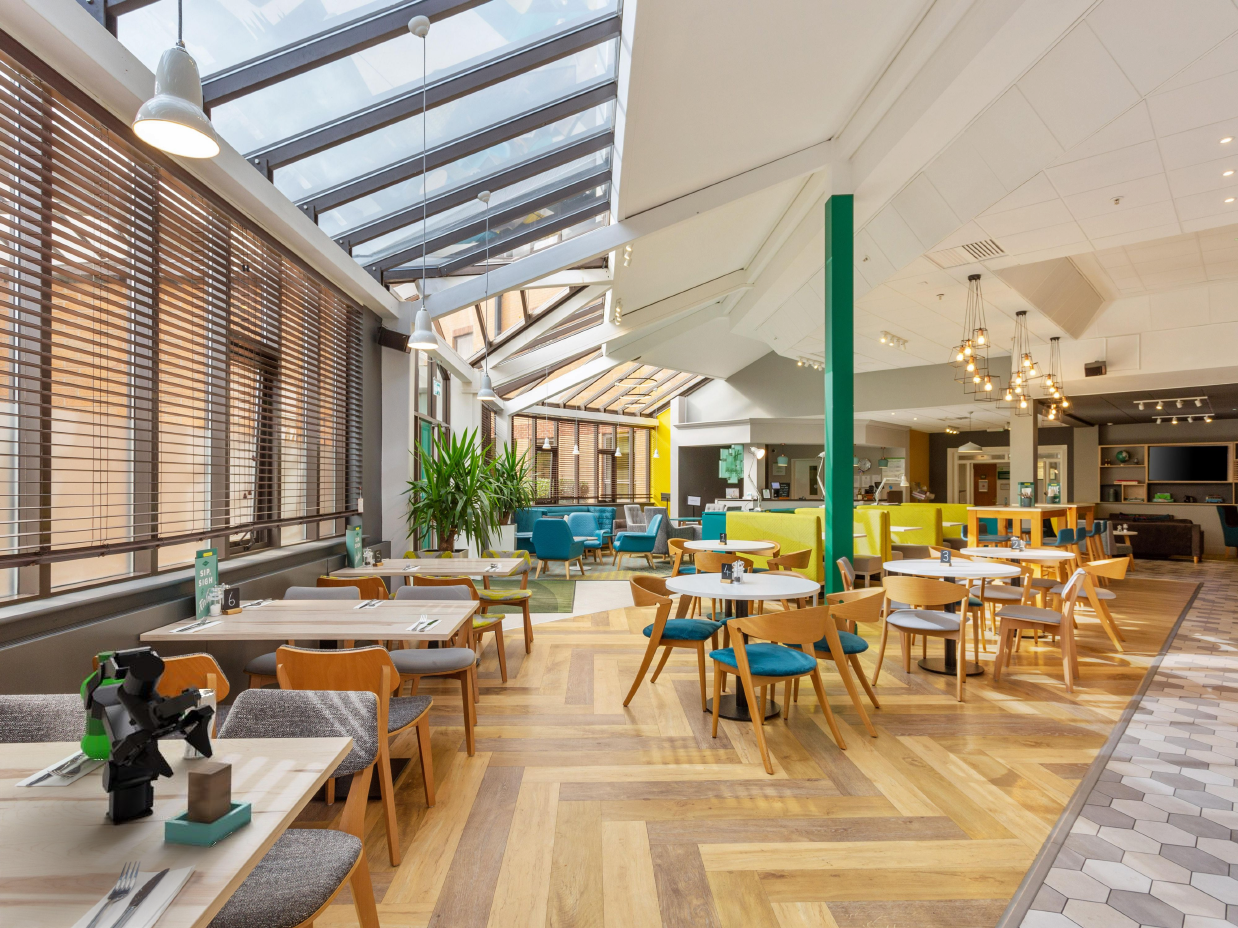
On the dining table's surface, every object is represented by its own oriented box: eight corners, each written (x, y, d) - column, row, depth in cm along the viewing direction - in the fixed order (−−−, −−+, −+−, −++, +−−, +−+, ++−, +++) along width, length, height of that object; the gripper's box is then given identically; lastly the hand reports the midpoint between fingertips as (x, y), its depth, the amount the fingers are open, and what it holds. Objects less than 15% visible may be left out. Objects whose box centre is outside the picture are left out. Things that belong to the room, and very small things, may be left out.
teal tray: (164, 840, 125) (164, 821, 125) (207, 815, 135) (208, 797, 135) (210, 846, 123) (210, 827, 123) (251, 820, 133) (251, 802, 133)
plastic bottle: (123, 745, 172) (126, 646, 173) (137, 755, 165) (139, 652, 166) (74, 757, 164) (77, 653, 165) (86, 768, 158) (89, 660, 159)
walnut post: (187, 831, 127) (188, 771, 128) (208, 818, 132) (209, 761, 132) (209, 834, 126) (210, 774, 126) (230, 821, 131) (231, 763, 131)
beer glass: (203, 760, 162) (204, 697, 163) (174, 760, 163) (176, 697, 163) (221, 749, 169) (222, 688, 170) (193, 748, 170) (195, 688, 170)
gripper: (126, 691, 123) (176, 757, 121) (208, 664, 141) (253, 721, 139) (90, 731, 125) (138, 798, 122) (175, 700, 143) (219, 757, 140)
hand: (191, 765), depth 131 cm, fingers open, 9 cm apart
